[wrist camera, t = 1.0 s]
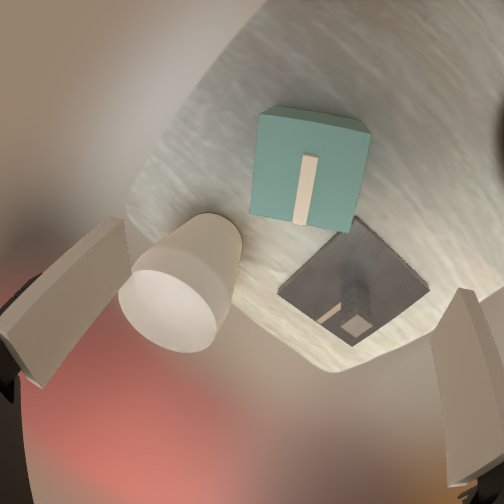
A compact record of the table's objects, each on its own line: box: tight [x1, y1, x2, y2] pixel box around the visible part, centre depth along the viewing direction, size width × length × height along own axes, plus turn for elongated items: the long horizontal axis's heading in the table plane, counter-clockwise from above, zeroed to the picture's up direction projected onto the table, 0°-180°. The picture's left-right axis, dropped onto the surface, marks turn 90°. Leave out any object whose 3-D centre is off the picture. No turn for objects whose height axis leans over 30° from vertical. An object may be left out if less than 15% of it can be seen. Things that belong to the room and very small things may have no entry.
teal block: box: [249, 106, 372, 233], centre depth 23 cm, size 7×7×8 cm
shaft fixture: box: [277, 216, 430, 347], centre depth 30 cm, size 12×12×6 cm
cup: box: [118, 213, 242, 353], centre depth 29 cm, size 9×9×12 cm
